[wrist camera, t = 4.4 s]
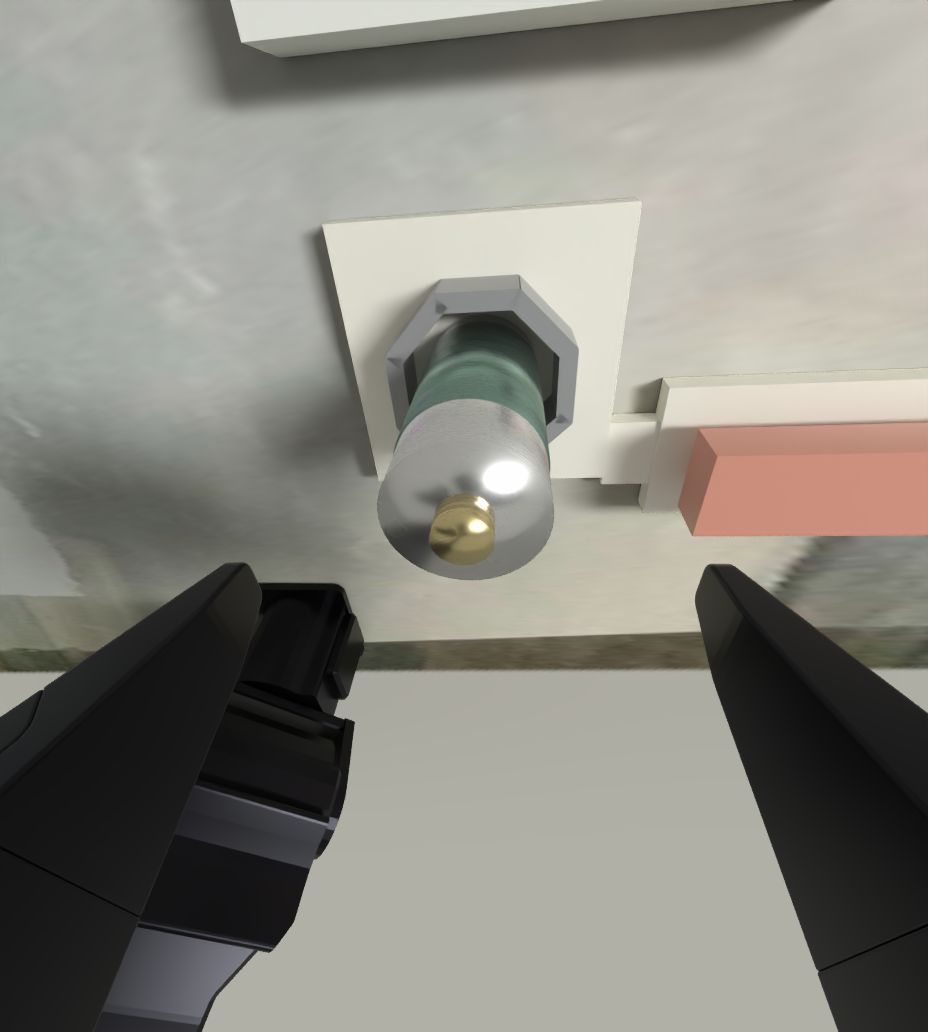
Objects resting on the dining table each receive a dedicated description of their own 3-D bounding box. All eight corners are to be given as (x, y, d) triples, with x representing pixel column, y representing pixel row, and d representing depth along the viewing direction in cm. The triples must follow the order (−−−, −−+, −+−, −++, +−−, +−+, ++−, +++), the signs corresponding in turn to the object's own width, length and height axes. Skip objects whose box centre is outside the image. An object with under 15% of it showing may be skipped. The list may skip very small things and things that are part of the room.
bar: (677, 505, 20) (692, 536, 18) (698, 428, 17) (717, 456, 16) (991, 501, 18) (1037, 534, 17) (1057, 418, 16) (1116, 448, 15)
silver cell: (435, 420, 19) (384, 603, 11) (423, 315, 16) (347, 460, 9) (536, 418, 19) (553, 607, 11) (540, 310, 16) (566, 458, 8)
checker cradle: (390, 503, 23) (377, 543, 21) (331, 220, 16) (300, 233, 13) (962, 496, 21) (1021, 540, 18) (1215, 154, 13) (1368, 156, 11)
